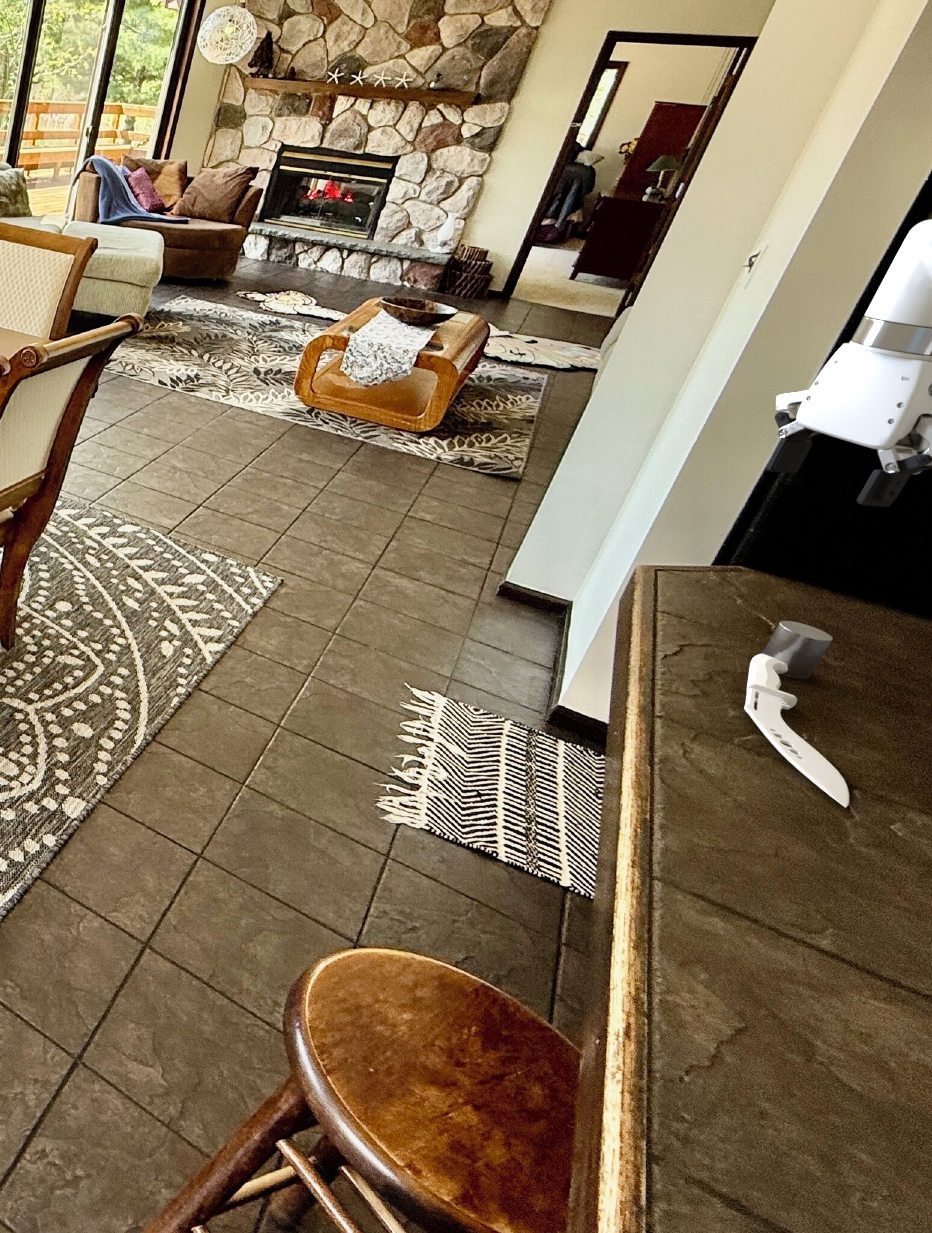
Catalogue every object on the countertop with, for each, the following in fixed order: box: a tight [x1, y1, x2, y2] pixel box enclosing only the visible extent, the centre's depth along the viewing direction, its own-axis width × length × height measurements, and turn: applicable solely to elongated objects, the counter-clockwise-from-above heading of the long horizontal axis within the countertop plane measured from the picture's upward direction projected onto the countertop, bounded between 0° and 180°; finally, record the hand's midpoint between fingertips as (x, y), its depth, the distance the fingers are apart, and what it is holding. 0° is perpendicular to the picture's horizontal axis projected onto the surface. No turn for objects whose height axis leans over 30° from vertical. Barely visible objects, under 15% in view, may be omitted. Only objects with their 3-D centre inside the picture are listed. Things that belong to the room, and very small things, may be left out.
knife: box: [744, 653, 850, 809], centre depth 97 cm, size 30×2×8 cm
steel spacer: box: [761, 620, 833, 680], centre depth 108 cm, size 4×4×6 cm
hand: (824, 487), depth 102 cm, fingers open, 9 cm apart
